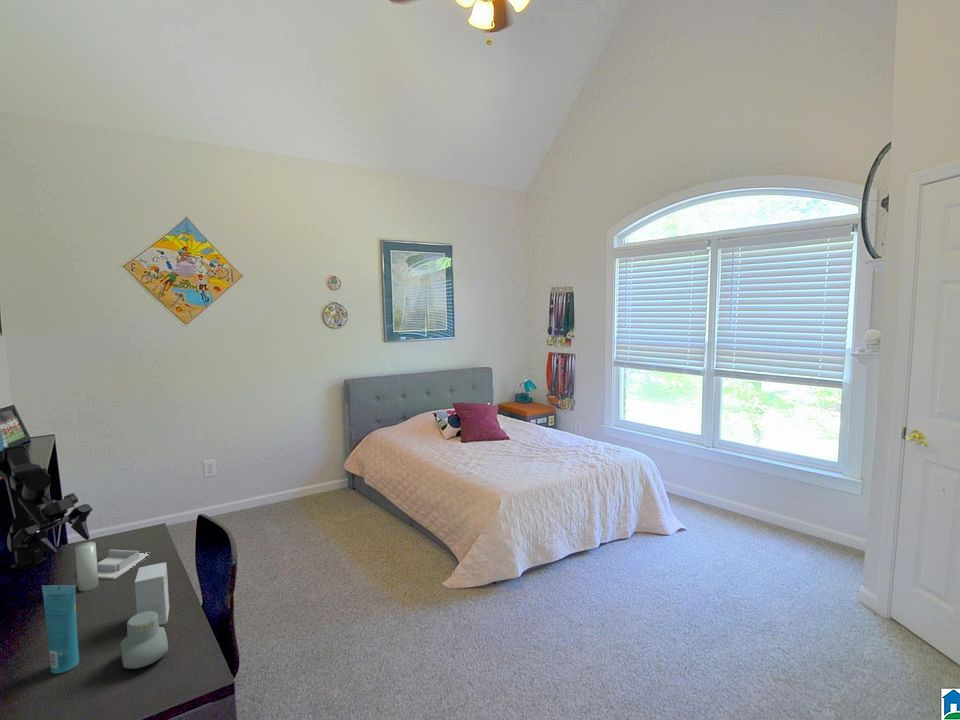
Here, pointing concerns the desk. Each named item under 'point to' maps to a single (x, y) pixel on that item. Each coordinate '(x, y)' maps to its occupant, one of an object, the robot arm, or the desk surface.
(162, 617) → the small box
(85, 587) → the domed peg
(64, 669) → the tube
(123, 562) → the white railed tray
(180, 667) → the desk surface
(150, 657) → the air freshener
